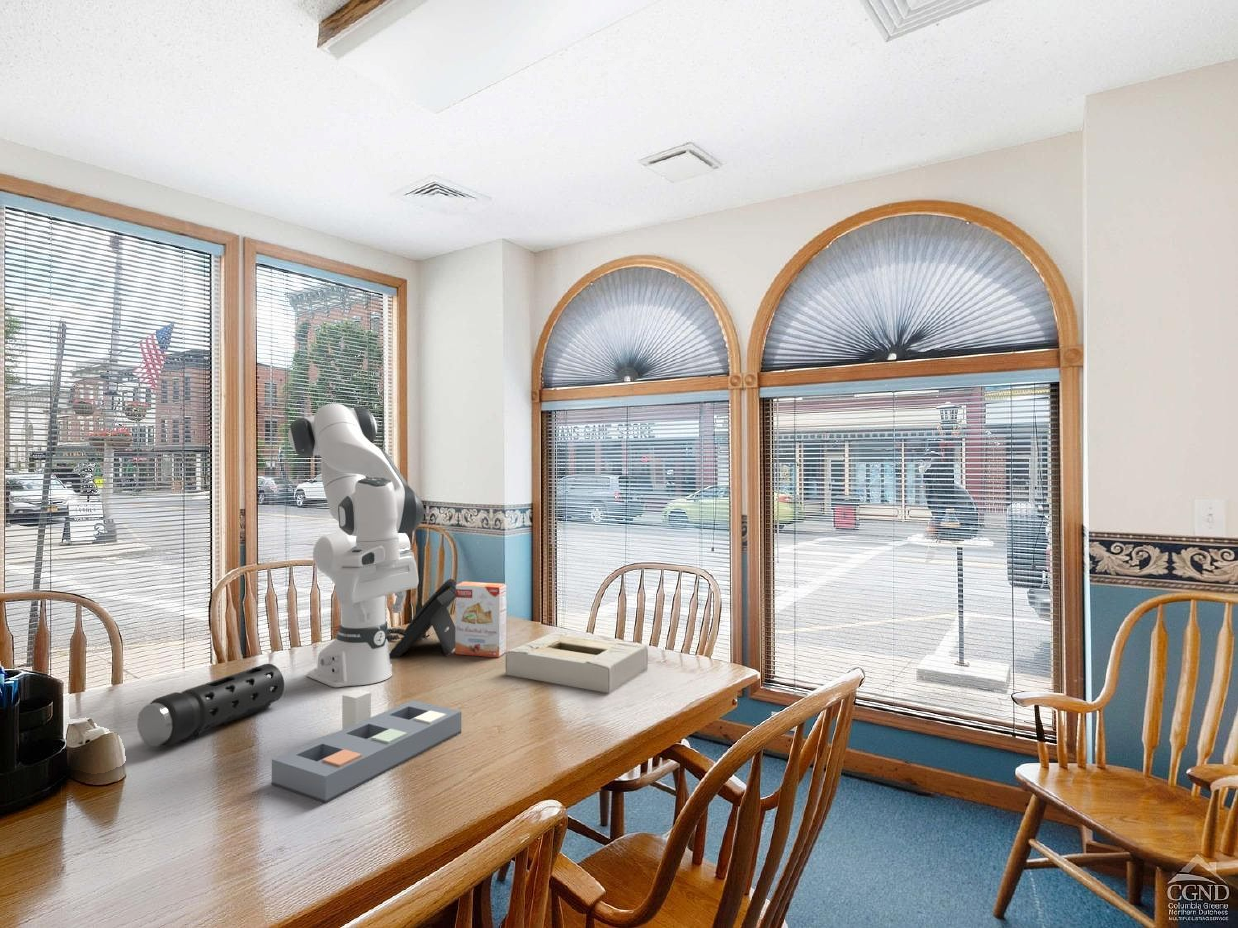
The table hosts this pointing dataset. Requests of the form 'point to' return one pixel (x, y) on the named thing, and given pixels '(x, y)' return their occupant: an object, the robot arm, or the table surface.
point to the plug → (355, 707)
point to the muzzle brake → (209, 705)
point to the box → (577, 661)
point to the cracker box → (480, 619)
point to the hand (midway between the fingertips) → (381, 616)
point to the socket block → (364, 750)
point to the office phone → (429, 622)
